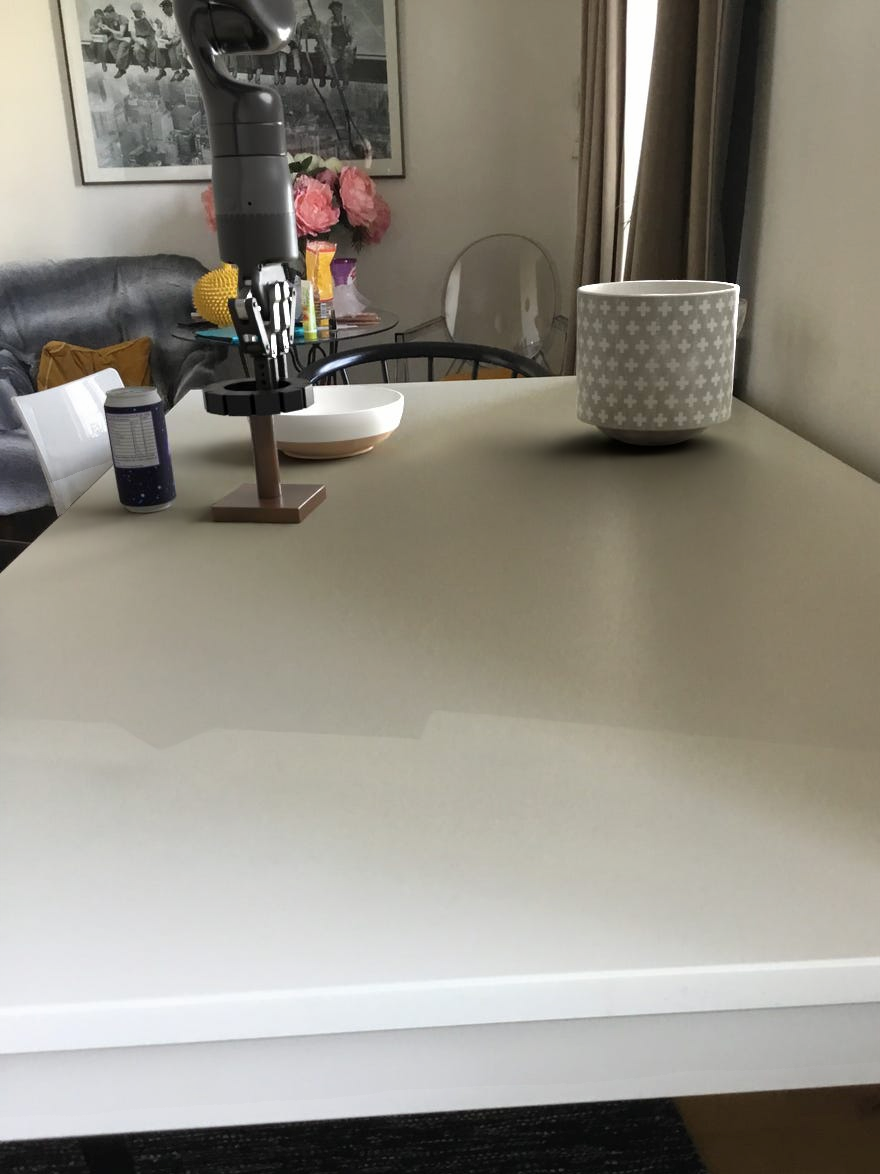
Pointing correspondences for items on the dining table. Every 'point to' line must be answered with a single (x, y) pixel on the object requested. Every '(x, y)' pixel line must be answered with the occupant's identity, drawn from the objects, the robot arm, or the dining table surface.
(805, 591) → the dining table surface
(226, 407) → the ring
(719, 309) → the planter
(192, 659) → the dining table surface
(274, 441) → the stand
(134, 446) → the beverage can
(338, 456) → the bowl
